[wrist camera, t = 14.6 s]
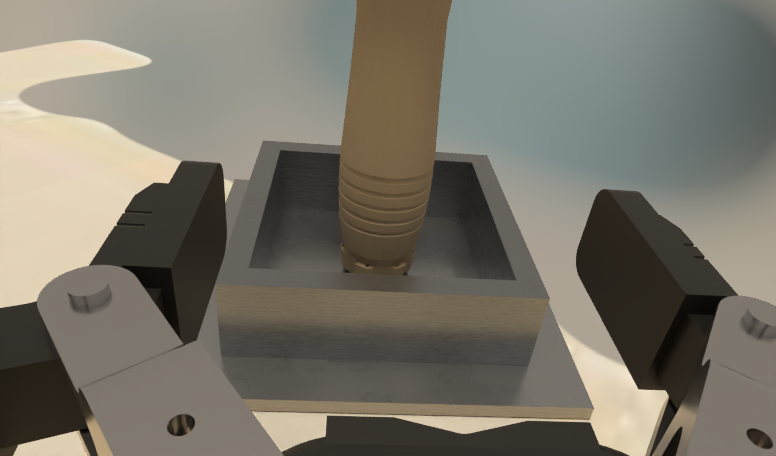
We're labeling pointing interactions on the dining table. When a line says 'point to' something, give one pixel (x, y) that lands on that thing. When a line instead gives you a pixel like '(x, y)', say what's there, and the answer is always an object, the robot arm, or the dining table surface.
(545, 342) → the grey square tray
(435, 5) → the handle
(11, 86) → the dining table surface
